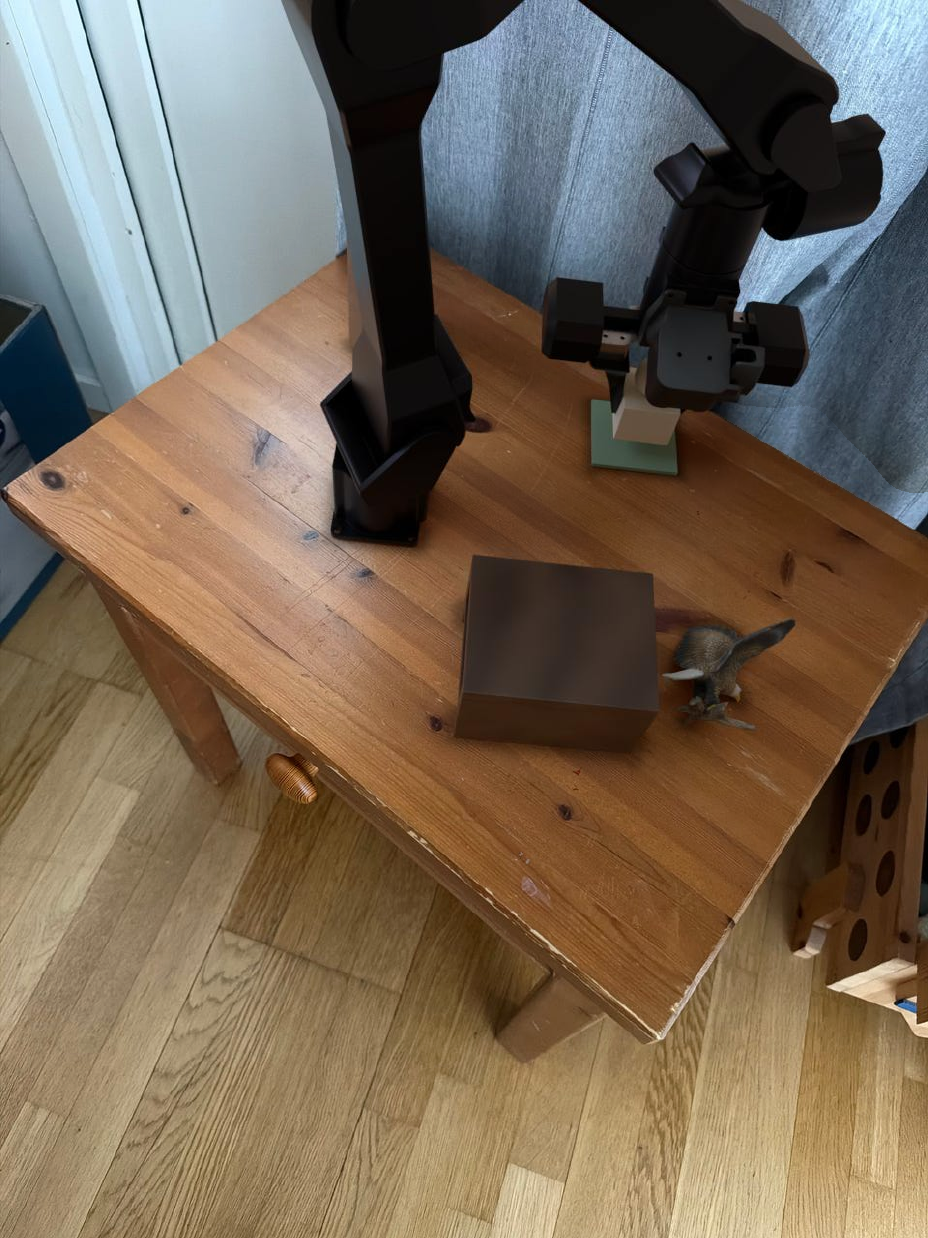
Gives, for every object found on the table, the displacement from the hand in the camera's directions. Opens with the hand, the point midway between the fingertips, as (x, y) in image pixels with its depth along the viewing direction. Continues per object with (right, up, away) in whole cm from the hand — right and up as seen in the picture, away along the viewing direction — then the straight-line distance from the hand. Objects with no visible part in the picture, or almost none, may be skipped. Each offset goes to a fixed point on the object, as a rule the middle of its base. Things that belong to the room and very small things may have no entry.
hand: (642, 412), depth 72 cm
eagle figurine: (+3, -21, -8) cm, 23 cm away
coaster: (0, -2, +3) cm, 3 cm away
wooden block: (-21, +7, +6) cm, 23 cm away
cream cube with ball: (0, -1, +1) cm, 1 cm away
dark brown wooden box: (-9, -21, -9) cm, 24 cm away
